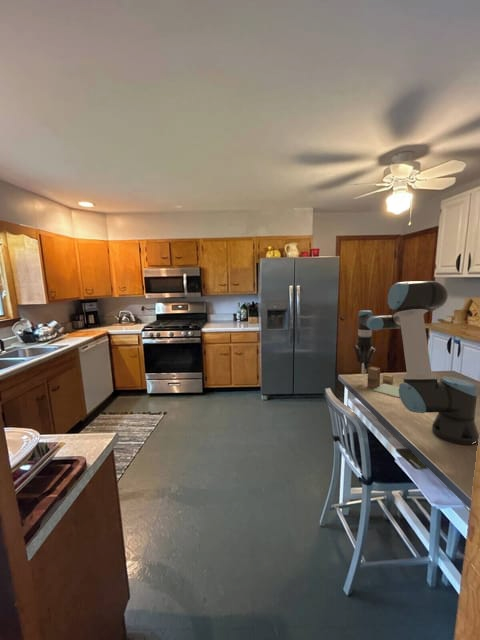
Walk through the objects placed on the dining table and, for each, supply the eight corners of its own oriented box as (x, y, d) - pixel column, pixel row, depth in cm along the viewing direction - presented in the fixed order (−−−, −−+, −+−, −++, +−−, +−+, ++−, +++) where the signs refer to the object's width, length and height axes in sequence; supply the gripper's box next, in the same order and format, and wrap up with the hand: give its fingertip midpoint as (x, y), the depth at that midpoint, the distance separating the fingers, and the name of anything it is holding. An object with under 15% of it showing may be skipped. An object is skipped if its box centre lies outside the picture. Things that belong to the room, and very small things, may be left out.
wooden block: (375, 388, 165) (376, 370, 164) (367, 386, 169) (367, 368, 168) (379, 386, 168) (380, 368, 167) (371, 383, 172) (372, 366, 171)
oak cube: (391, 384, 170) (392, 376, 170) (382, 382, 173) (382, 375, 173) (393, 382, 174) (393, 374, 174) (384, 380, 177) (384, 372, 177)
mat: (398, 397, 151) (398, 396, 151) (372, 390, 162) (372, 389, 162) (409, 390, 160) (409, 389, 160) (384, 384, 171) (384, 383, 171)
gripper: (378, 336, 167) (377, 374, 170) (357, 333, 177) (356, 370, 180) (372, 338, 162) (371, 377, 165) (351, 335, 172) (350, 372, 175)
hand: (363, 373), depth 173 cm, fingers closed
